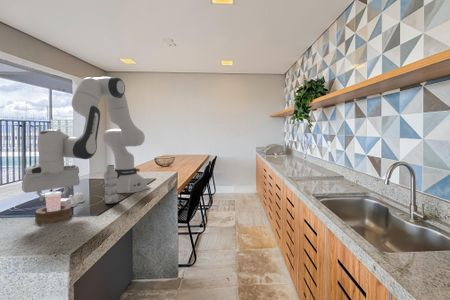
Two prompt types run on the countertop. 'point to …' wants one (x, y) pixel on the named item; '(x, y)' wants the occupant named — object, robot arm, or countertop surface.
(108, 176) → the plastic bottle
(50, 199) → the beverage cup
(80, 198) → the container set
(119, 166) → the robot arm
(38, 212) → the walnut ring
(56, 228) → the countertop surface
